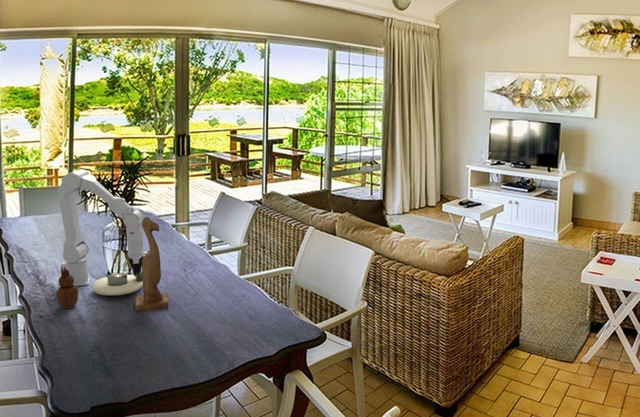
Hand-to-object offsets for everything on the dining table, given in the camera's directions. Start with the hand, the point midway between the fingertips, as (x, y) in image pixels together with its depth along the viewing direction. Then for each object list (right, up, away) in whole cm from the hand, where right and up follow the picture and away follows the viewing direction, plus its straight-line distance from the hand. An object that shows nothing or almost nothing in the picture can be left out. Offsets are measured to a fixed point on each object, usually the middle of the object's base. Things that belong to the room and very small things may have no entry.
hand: (137, 275), depth 222 cm
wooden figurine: (-17, -8, -21) cm, 29 cm away
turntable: (-6, -4, -5) cm, 9 cm away
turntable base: (-6, -4, -5) cm, 9 cm away
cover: (-6, -2, -5) cm, 8 cm away
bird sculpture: (+11, -8, -19) cm, 24 cm away
